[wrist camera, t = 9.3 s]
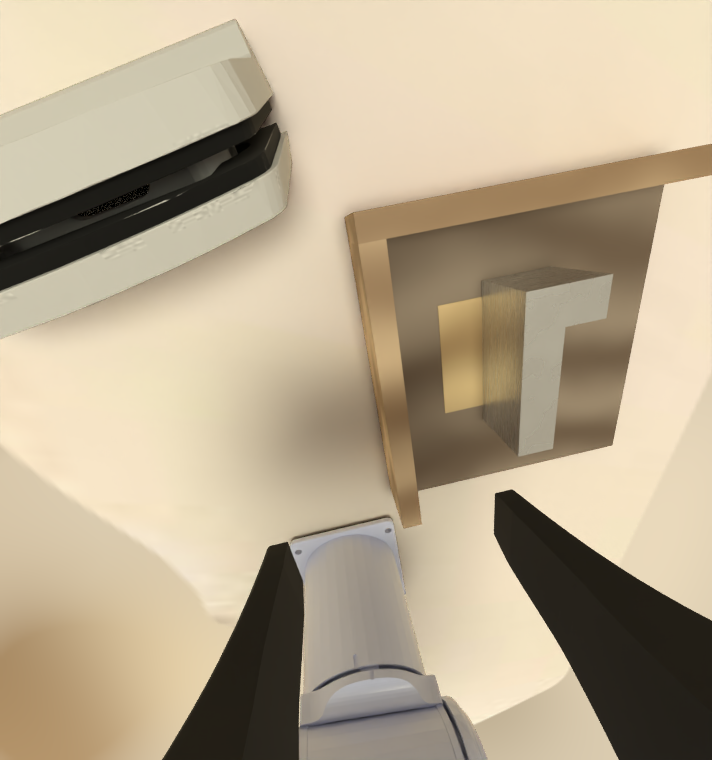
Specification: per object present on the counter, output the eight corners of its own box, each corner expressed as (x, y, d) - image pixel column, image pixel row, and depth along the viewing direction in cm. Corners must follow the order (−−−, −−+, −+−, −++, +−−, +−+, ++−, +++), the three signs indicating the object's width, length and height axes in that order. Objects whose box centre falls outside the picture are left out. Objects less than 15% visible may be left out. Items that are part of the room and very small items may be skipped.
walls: (603, 439, 25) (648, 470, 21) (390, 488, 24) (403, 528, 21) (654, 157, 17) (736, 139, 14) (344, 217, 16) (353, 212, 13)
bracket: (481, 280, 18) (526, 292, 14) (551, 266, 18) (613, 273, 14) (482, 419, 21) (518, 456, 18) (540, 406, 22) (586, 440, 18)
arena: (603, 439, 25) (612, 445, 24) (406, 485, 24) (409, 493, 23) (650, 183, 18) (665, 181, 17) (371, 238, 17) (374, 238, 16)
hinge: (246, 19, 13) (242, -51, 6) (293, 155, 16) (328, 215, 9) (-129, 173, 13) (-559, 282, 6) (-8, 275, 17) (-198, 421, 10)
